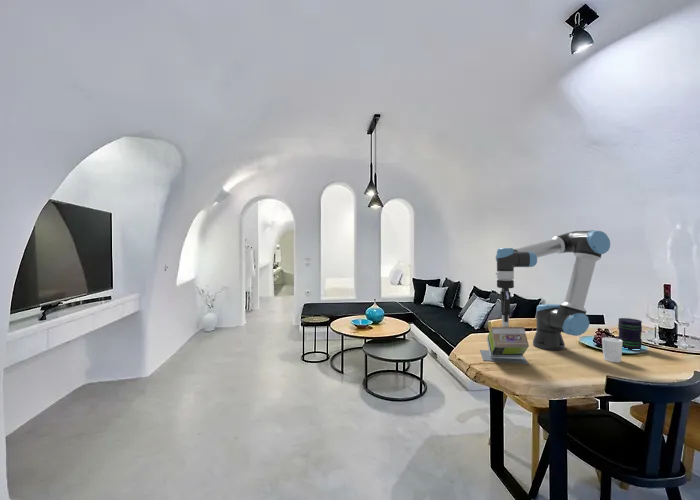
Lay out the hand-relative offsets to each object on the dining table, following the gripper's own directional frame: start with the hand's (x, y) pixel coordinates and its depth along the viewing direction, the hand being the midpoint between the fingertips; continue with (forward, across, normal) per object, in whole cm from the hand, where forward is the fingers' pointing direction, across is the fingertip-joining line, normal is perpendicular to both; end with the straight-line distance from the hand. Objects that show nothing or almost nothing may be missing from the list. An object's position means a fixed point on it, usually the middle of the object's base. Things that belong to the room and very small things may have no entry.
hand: (505, 327), depth 168 cm
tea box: (+11, -6, 0) cm, 13 cm away
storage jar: (+15, -35, +68) cm, 78 cm away
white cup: (+16, -11, +50) cm, 53 cm away
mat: (+16, -5, 0) cm, 16 cm away
